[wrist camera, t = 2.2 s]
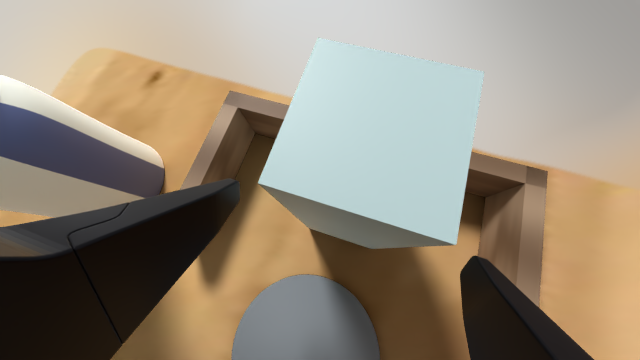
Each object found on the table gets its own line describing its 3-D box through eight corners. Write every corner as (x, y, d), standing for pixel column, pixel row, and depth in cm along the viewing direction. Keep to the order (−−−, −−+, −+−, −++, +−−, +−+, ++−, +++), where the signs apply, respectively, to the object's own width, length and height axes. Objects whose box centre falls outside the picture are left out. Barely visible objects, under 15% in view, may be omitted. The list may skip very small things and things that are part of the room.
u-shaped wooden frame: (485, 342, 16) (534, 372, 12) (194, 236, 19) (158, 232, 15) (503, 187, 18) (547, 171, 15) (248, 118, 22) (229, 90, 18)
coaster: (244, 465, 14) (242, 471, 14) (225, 293, 17) (223, 293, 17) (400, 423, 15) (401, 427, 14) (355, 259, 18) (355, 259, 17)
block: (371, 248, 18) (456, 244, 5) (309, 228, 18) (257, 183, 6) (386, 188, 19) (484, 71, 7) (328, 171, 20) (318, 37, 7)
